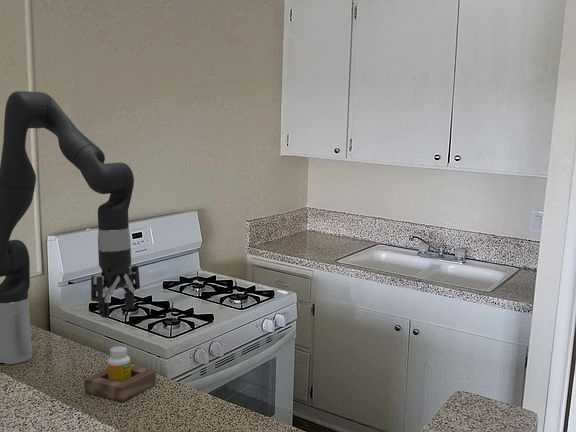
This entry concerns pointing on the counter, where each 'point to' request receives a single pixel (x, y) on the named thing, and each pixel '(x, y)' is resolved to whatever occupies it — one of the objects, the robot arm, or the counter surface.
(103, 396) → the socket block
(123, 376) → the supplement bottle
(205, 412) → the counter surface
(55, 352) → the counter surface
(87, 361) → the counter surface
